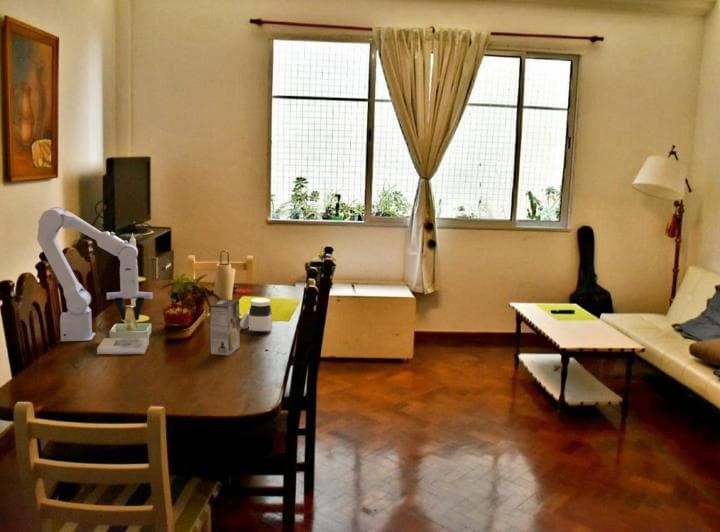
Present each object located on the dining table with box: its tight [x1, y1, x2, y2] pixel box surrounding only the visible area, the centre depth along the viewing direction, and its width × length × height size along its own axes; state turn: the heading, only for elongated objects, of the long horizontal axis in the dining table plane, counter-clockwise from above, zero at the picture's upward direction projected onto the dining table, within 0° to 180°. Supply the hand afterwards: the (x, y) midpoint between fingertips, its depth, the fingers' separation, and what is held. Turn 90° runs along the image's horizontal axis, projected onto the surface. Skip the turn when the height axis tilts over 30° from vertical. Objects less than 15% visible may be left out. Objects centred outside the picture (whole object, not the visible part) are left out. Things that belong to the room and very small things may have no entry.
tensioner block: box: [96, 337, 150, 356], centre depth 214 cm, size 14×11×2 cm
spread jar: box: [239, 297, 273, 336], centre depth 238 cm, size 12×11×12 cm
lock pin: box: [123, 304, 138, 331], centre depth 227 cm, size 4×4×8 cm
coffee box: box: [209, 298, 241, 356], centre depth 214 cm, size 9×6×16 cm
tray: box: [108, 323, 153, 339], centre depth 228 cm, size 12×10×3 cm
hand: (130, 319), depth 227 cm, fingers closed on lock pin, 4 cm apart
